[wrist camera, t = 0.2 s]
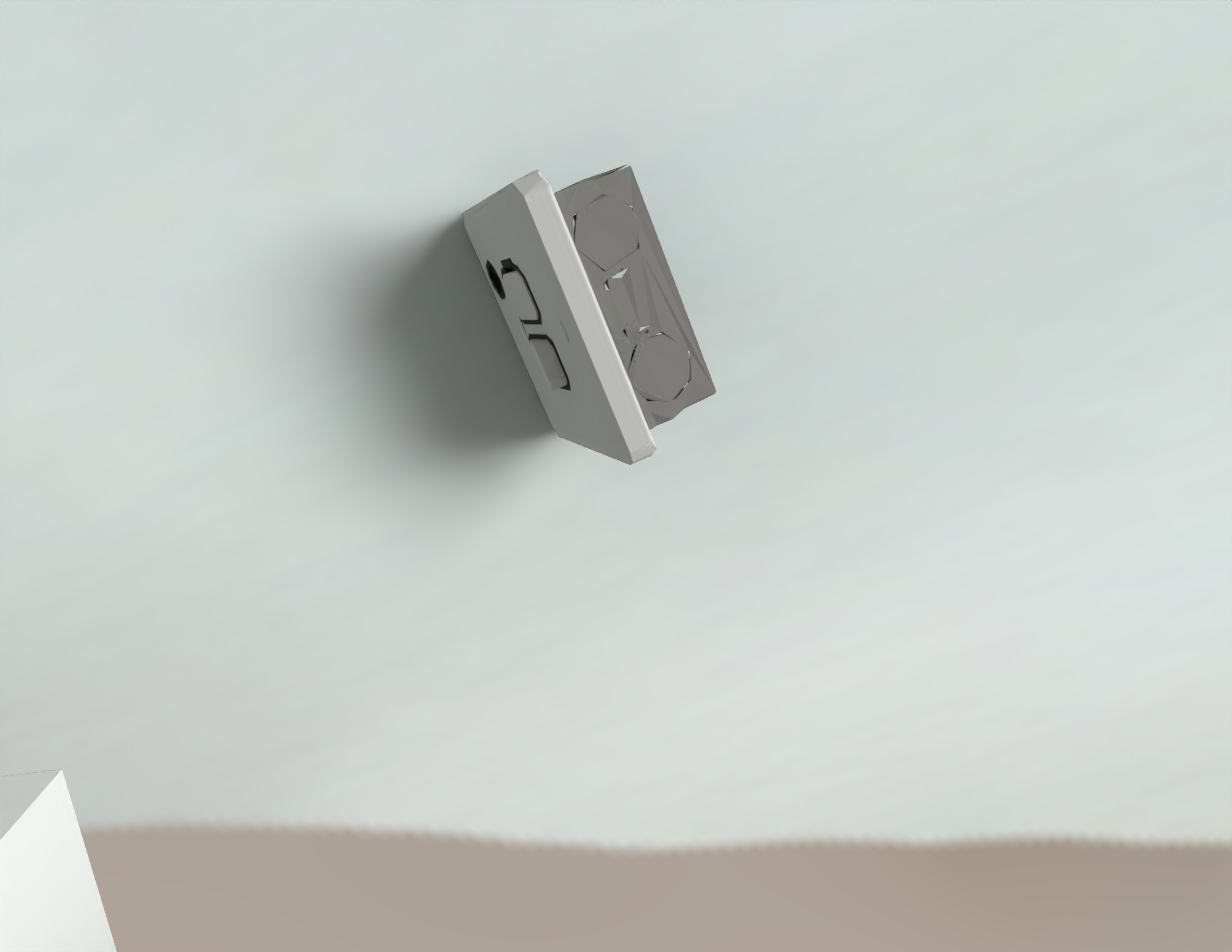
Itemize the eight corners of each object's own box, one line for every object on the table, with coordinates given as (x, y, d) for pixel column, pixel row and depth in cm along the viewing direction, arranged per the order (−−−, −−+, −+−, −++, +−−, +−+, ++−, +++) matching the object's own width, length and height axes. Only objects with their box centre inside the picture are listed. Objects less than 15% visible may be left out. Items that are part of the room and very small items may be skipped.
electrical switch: (457, 212, 35) (459, 201, 26) (583, 160, 36) (626, 130, 27) (555, 435, 38) (586, 493, 29) (671, 384, 38) (737, 426, 29)
